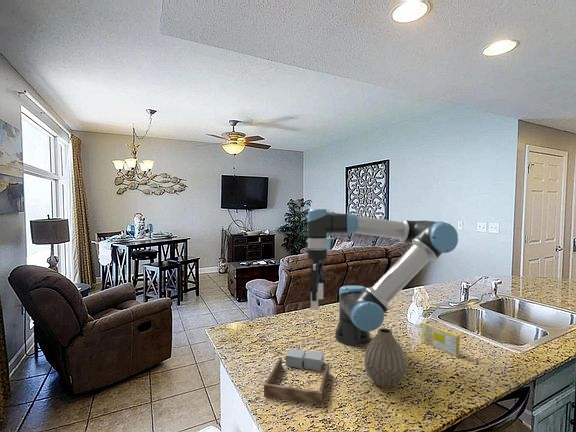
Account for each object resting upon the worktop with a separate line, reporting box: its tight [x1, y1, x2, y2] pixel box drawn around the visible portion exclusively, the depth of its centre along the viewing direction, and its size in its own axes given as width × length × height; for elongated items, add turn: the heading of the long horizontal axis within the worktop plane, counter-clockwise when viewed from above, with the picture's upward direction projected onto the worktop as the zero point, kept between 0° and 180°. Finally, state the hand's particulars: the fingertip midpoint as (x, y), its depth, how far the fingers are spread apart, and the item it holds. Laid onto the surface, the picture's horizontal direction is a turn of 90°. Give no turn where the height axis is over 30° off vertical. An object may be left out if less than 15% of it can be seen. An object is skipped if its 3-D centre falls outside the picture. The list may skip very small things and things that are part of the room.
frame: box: [263, 356, 330, 406], centre depth 102 cm, size 18×18×4 cm
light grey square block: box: [303, 349, 325, 372], centre depth 113 cm, size 6×6×4 cm
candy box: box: [421, 322, 461, 358], centre depth 127 cm, size 16×2×8 cm, turn 28°
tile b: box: [285, 348, 306, 369], centre depth 115 cm, size 6×6×4 cm
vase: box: [363, 327, 407, 389], centre depth 102 cm, size 13×13×18 cm
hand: (317, 303), depth 121 cm, fingers open, 12 cm apart
